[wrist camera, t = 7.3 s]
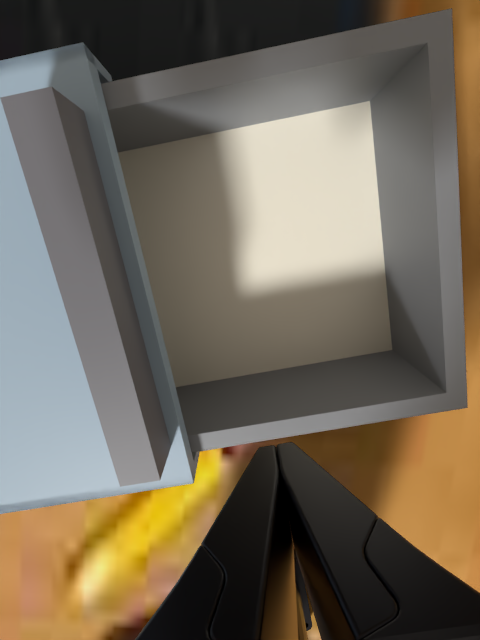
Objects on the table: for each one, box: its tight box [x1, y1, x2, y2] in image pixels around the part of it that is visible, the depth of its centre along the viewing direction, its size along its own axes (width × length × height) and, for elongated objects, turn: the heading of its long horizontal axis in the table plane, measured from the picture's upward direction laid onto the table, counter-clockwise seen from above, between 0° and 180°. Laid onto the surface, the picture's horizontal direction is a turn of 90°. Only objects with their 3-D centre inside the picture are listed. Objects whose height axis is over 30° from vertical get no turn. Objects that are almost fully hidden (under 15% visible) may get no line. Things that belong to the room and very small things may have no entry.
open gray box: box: [101, 9, 468, 453], centre depth 16 cm, size 14×22×6 cm, turn 101°
